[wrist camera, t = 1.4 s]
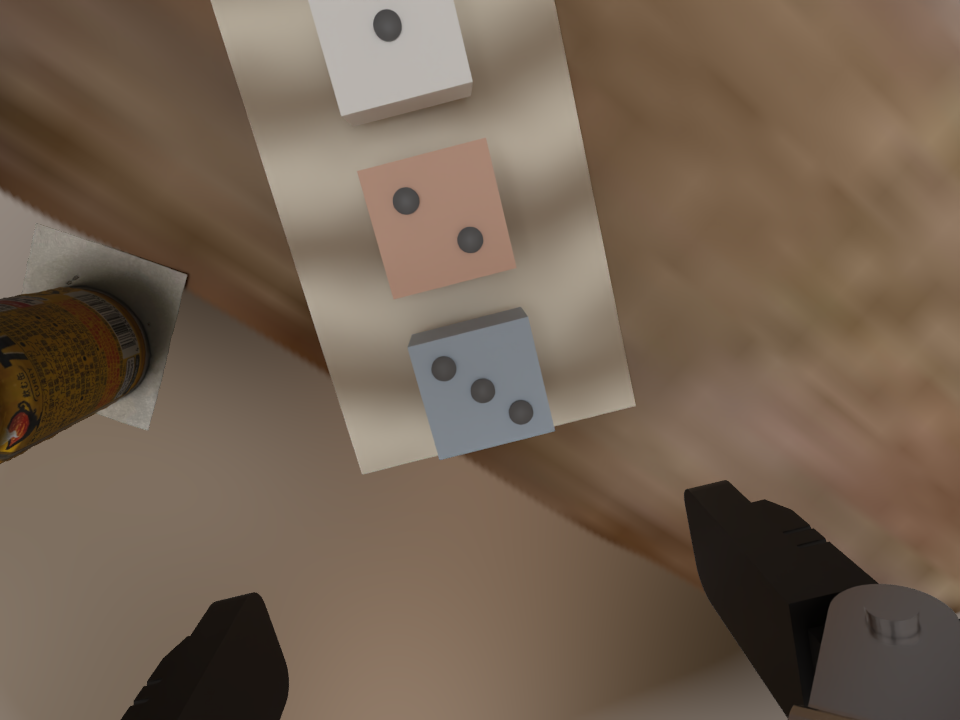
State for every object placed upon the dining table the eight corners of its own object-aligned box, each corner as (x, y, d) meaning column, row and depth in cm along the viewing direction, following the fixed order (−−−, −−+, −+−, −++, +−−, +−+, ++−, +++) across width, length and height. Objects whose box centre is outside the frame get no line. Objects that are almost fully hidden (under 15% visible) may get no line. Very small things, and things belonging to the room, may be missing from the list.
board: (227, 14, 28) (194, -15, 24) (530, -67, 27) (541, -108, 24) (367, 459, 33) (357, 488, 29) (624, 394, 32) (645, 416, 29)
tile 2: (367, 175, 26) (356, 170, 23) (482, 145, 26) (486, 136, 23) (399, 291, 27) (393, 300, 24) (510, 262, 27) (517, 268, 24)
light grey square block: (316, -4, 24) (297, -34, 21) (439, -37, 24) (437, -72, 21) (353, 126, 25) (340, 115, 23) (470, 95, 25) (472, 80, 22)
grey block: (412, 334, 28) (407, 348, 25) (520, 306, 27) (528, 317, 25) (441, 437, 29) (439, 462, 26) (545, 410, 29) (555, 432, 26)
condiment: (5, 384, 31) (-264, 485, 20) (38, 222, 29) (-236, 227, 18) (150, 429, 32) (-25, 551, 20) (190, 274, 30) (24, 311, 19)
